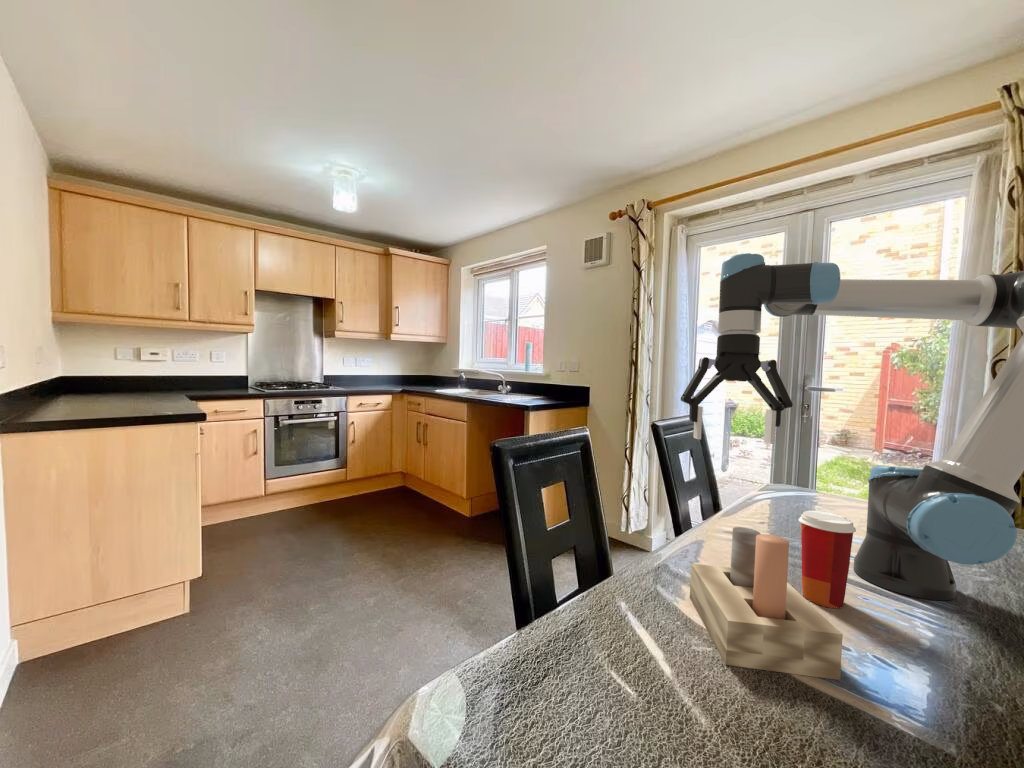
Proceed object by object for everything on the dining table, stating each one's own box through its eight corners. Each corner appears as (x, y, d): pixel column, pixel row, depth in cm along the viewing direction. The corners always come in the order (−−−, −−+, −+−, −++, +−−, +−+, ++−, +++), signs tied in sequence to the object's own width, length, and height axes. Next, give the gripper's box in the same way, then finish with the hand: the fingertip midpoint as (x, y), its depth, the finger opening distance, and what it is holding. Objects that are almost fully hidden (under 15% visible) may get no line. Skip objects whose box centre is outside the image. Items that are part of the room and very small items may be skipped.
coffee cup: (840, 593, 79) (845, 513, 79) (860, 616, 71) (865, 527, 71) (788, 584, 82) (792, 507, 82) (802, 605, 74) (806, 519, 74)
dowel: (789, 647, 58) (794, 546, 58) (758, 643, 59) (763, 543, 59) (776, 630, 62) (780, 535, 62) (746, 627, 63) (751, 533, 63)
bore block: (775, 607, 73) (779, 526, 73) (840, 680, 55) (846, 573, 55) (689, 597, 75) (693, 518, 75) (725, 664, 57) (731, 561, 57)
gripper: (796, 338, 87) (790, 442, 87) (669, 334, 90) (664, 434, 91) (817, 334, 79) (811, 447, 80) (677, 330, 83) (672, 439, 83)
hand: (732, 440), depth 85 cm, fingers open, 13 cm apart
